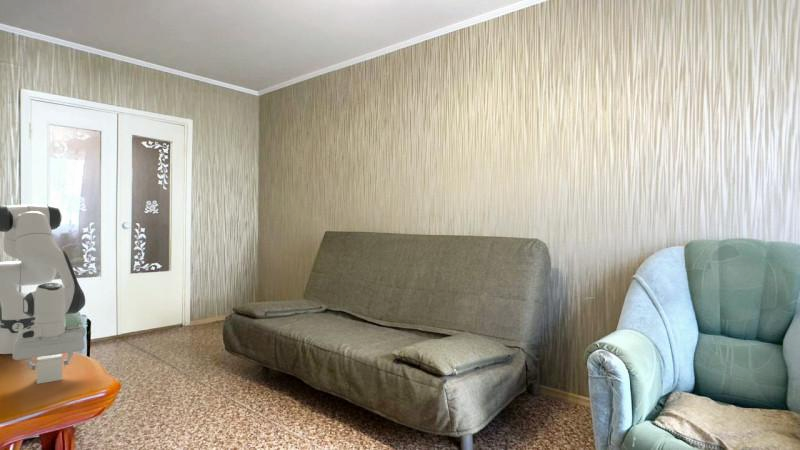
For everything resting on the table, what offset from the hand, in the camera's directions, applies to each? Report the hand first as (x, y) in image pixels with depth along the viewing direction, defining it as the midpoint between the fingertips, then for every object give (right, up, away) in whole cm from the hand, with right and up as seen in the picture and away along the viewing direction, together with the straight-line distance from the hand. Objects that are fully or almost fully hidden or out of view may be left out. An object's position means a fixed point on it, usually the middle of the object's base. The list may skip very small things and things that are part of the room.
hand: (49, 367), depth 157 cm
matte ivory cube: (0, -4, 0) cm, 4 cm away
